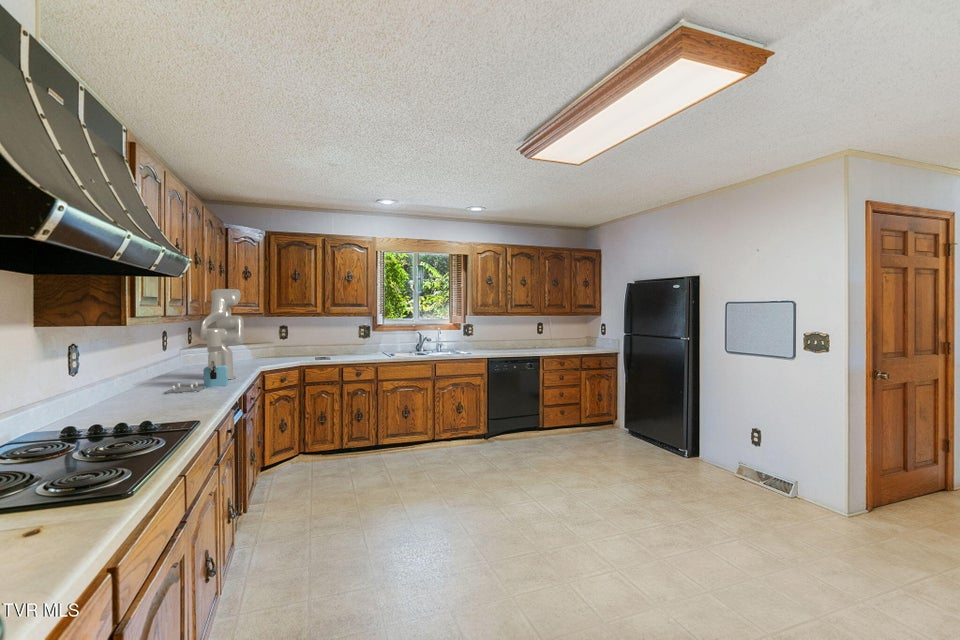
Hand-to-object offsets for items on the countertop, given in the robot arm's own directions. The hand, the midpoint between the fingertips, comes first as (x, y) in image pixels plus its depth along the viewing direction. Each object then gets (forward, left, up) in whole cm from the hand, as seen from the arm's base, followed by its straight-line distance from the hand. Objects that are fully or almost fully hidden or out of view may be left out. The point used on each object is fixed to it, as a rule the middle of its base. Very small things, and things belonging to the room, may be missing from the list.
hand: (215, 377), depth 275 cm
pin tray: (+11, -13, -5) cm, 18 cm away
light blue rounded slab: (0, 0, -5) cm, 5 cm away
